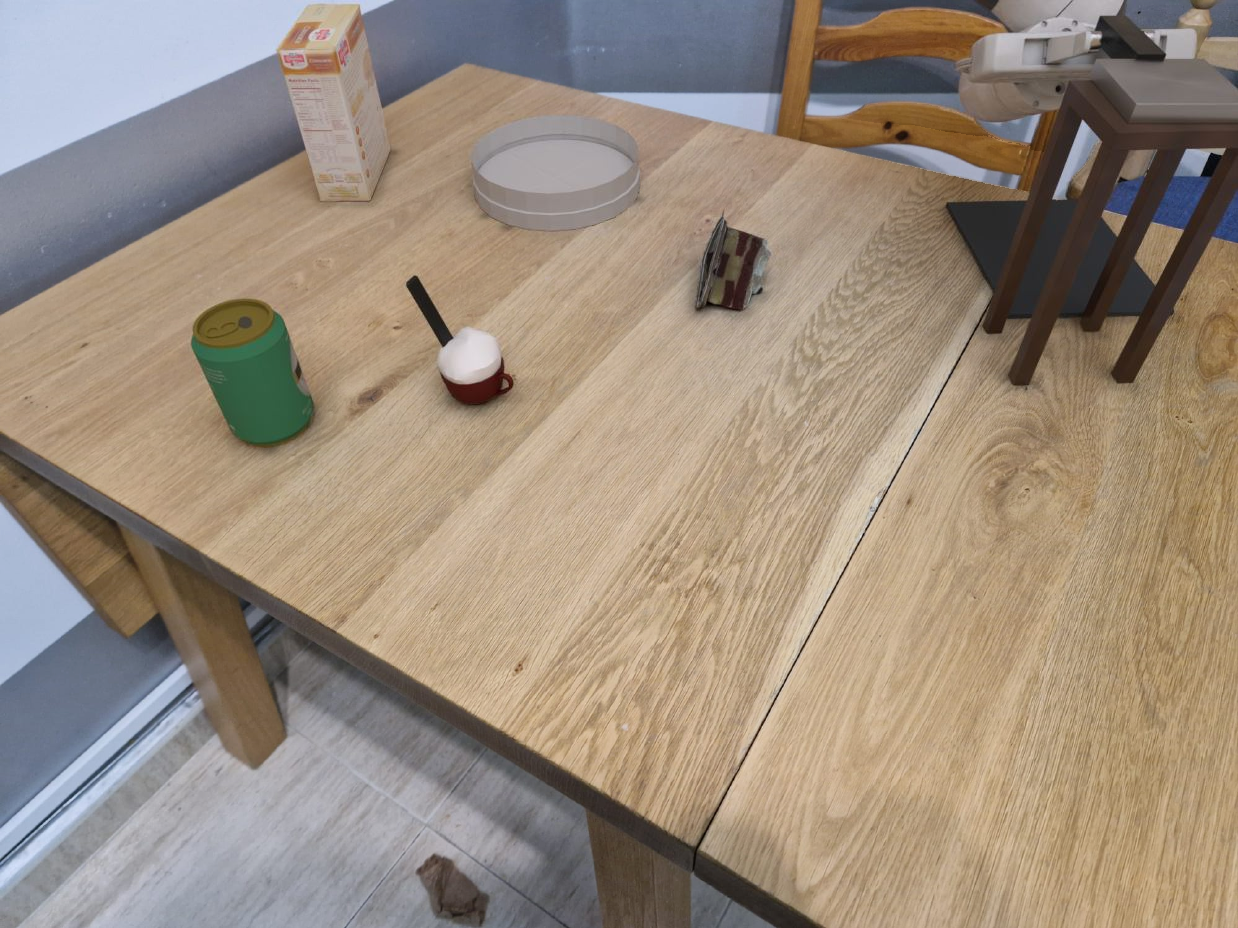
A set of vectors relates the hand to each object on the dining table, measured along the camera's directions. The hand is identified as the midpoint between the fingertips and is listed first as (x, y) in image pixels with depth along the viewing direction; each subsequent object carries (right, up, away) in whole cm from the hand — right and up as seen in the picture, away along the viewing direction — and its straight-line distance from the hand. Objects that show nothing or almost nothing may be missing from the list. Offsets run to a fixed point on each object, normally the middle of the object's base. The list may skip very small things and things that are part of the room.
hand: (1122, 40), depth 77 cm
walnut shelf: (0, -26, +13) cm, 29 cm away
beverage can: (-78, -34, +8) cm, 86 cm away
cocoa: (-59, -30, +10) cm, 68 cm away
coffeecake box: (-81, +2, +42) cm, 91 cm away
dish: (-53, -1, +39) cm, 66 cm away
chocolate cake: (-32, -18, +22) cm, 43 cm away
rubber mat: (+6, -13, +25) cm, 29 cm away
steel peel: (0, -4, -2) cm, 5 cm away
